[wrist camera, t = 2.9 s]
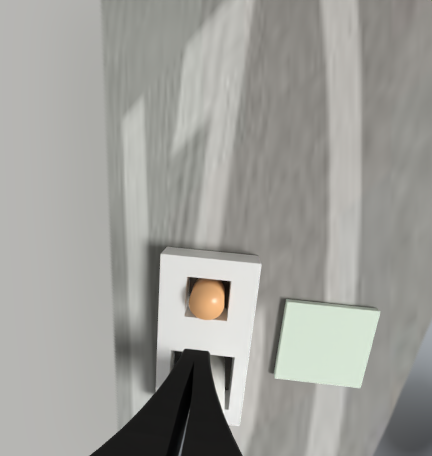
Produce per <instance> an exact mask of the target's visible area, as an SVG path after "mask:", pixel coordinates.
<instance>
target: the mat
mask: <svg viewBox="0 0 432 456" xmlns="http://www.w3.org/2000/svg"><path fill="white" fill-rule="evenodd" d="M379 316H380V311H379V310H378V309H377V308H368V307H359V306H349V305H339V304H330V303H320V302H311V301H301V300H291V299H286V303H285V309H284V315H283V321H282V327H281V333H280V339H279V345H278V351H277V357H276V364H275V370H274V377H275V378H277V379H285V380H294V381H303V382H311V383H320V384H329V385H337V386H346V387H354V388H361V384H362V380H363V377H364V373H365V369H366V365H367V361H368V358H369V354H370V350H371V346H372V342H373V339H374V335H375V331H376V327H377V323H378V320H379Z"/></svg>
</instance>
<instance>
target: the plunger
mask: <svg viewBox="0 0 432 456" xmlns="http://www.w3.org/2000/svg"><path fill="white" fill-rule="evenodd" d="M224 296H225V288H224V285H223V283H222V282H221V281H220V280H215V279H205V278H199V279H198V280H197V281H196V282H195V284H194V286H193V289H192V292H191V295H190V299H189V308H190V310H191V312H192V313H193V314H194V315H195V316H196V317H197V318H199V319H202V320H212V319H215V318H217V317H218V316H219V315H220V314H221V313H222V311H223V309H224Z"/></svg>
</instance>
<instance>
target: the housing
mask: <svg viewBox="0 0 432 456" xmlns="http://www.w3.org/2000/svg"><path fill="white" fill-rule="evenodd" d="M261 265H262V264H261V261H260V259H259V256H257V255H247V254H237V253H227V252H216V251H206V250H196V249H186V248H176V247H166V248H165V250H164V251H163V252H162V253H161V257H160V284H159V311H158V338H157V365H156V391H157V390H158V388H159V387H160V386H161V385H162V383H163V382H164V381H165V379H166V378H167V376H168V375H169V373H170V372H171V371H172V369H173V368H174V359H175V351H183V350H184V349H194V350H203V351H209V353H210V355H218V356H227V357H232V365H231V374H230V382H229V390H225V409H224V416H225V418H226V421H227V423H228V425H234V426H240V420H241V413H242V405H243V398H244V391H245V383H246V376H247V368H248V361H249V354H250V346H251V339H252V331H253V324H254V317H255V309H256V302H257V294H258V287H259V280H260V272H261ZM190 277H196V278H205V279H215V280H225V281H230V286H229V296H228V305H227V308H224V309H223V311H222V313H221V314H220V315H219V316H218V317H217V318H215V319H212V320H202V319H199V318H197V317H196V316H195V315H194V314H193V313H192V312H191V310H190V308H189V304H188V302H189V287H190Z"/></svg>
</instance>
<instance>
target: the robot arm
mask: <svg viewBox="0 0 432 456" xmlns="http://www.w3.org/2000/svg"><path fill="white" fill-rule="evenodd" d="M189 410H190V411H189ZM188 415H189V416H188ZM187 419H188V421H187ZM186 423H187V427H186ZM185 427H186V432H185V437H184V442H183V447H182V452H181V456H242V454H241V452H240V450H239V447H238V445H237V443H236V441H235V439H234V437H233V435H232V433H231V430H230V428H229V426H228V423H227V421H226V418H225V416H224V413H223V410H222V408H221V405H220V401H219V398H218V395H217V392H216V388H215V384H214V380H213V376H212V370H211V364H210V353H209V351H203V350H194V349H184V350H183V352H182V354H181V356H180V358H179V359H178V361H177V363H176V364H175V366H174V368H173V369H172V371H171V372H170V373H169V375H168V376H167V378H166V379H165V381H164V382H163V383H162V385H161V386H160V387H159V388H158V390H157V391H156V392H155V394H154V395H153V396H152V397H151V398H150V400H149V401H148V402H147V403H146V404H145V405H144V406H143V408H142V409H141V410H140V411H139V412H138V413H137V414H136V415H135V416H134V417H133V418H132V419H131V420H130V421H129V422H128V423H127V424H126V425H125V426H124V427H123V428H122V429H121V430H120V431H118V432H117V433H116V434H115V435H114V436H113V437H112V438H110V439H109V440H108V441H107V442H106V443H105V444H104V445H102V446H101V447H100V448H99V449H98V450H96V451H95V452H94V453H92V454H91V455H90V456H179V452H180V448H181V444H182V440H183V435H184V431H185Z"/></svg>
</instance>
